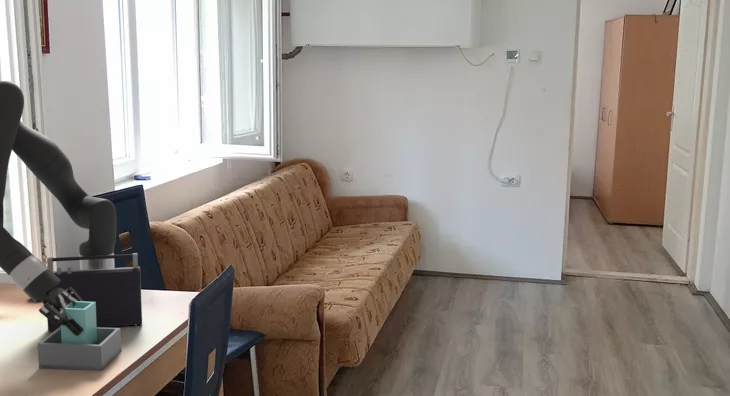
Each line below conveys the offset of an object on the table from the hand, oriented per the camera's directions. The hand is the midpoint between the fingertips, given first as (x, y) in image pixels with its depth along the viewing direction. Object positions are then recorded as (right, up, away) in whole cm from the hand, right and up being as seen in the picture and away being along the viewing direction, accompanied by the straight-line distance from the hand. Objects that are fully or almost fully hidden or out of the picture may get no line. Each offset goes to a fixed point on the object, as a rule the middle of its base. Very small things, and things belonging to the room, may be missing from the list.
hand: (86, 328), depth 176 cm
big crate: (-2, -8, +2) cm, 8 cm away
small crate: (-2, -4, +1) cm, 5 cm away
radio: (-7, -4, +24) cm, 25 cm away
